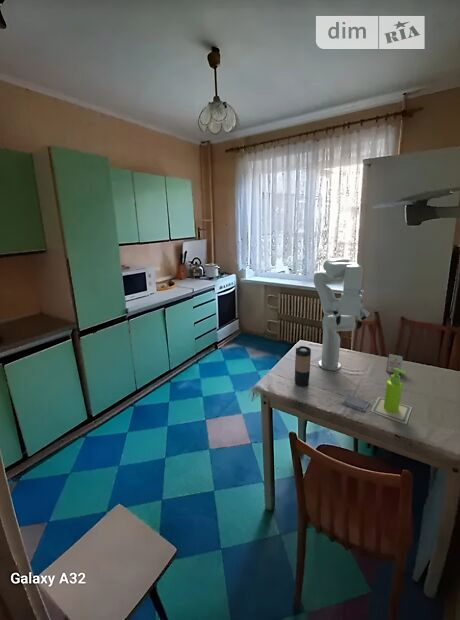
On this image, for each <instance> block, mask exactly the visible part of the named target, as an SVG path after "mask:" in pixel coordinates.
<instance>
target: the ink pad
mask: <svg viewBox="0 0 460 620" xmlns="http://www.w3.org/2000/svg"><path fill="white" fill-rule="evenodd" d="M370 404H371V403H370V401H368V400H365V399H364V398H363V399H362V398H360V397H356V396H354V395H352V394H347V395H346V396H345V398H344V399H343V400H342V402H341V405H344V406H347V407H350V408H352V409H355V410H357V411H361V412H363V413H365V412H366V410H367V409H368V407H369V405H370Z"/></svg>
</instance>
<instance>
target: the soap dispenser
mask: <svg viewBox="0 0 460 620" xmlns="http://www.w3.org/2000/svg"><path fill="white" fill-rule="evenodd" d="M393 370H395V371H394V373H391V378H390V379H388V380H387V383H386V389H385V396H384V398H385V401H384V409H385V410H387V411H389V412H393V413H395V412H398V410H399V404H401V396H402V391H403V385H404V384H403V382H401V376H400V375H401V374H402V375H403V376H405V375H407V374H408V373H407V372H406V371H405V370H403V369H402V368H401V369H398V368H393ZM399 372H400V375H399Z"/></svg>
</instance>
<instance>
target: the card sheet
mask: <svg viewBox="0 0 460 620" xmlns="http://www.w3.org/2000/svg"><path fill="white" fill-rule="evenodd" d="M384 401H385V397H382V396H378V397H377V399H376V401H375V402H374V404H373V406H372V408H371V409H370V412H371V413H373V414H376V415H379V416H382V417H384V418H387V419H390V420H393V421H395V422H399V423H401V424H404V425H407V423H408V420H409V418H410V416H411V412H412V410H413V407H412V406H409V405H406V404H404V403H403V404H402V403H400V404H399V410H398V412H395V413H393V412H389V411H387V410H385V409H384Z"/></svg>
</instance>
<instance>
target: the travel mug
mask: <svg viewBox="0 0 460 620" xmlns="http://www.w3.org/2000/svg"><path fill="white" fill-rule="evenodd" d="M311 357H312V349H311V348H310V347H308V346H305V345H304V346H302V345H300V346H298V347H296V348H295V359H294V384H295V386H297V387H300V388H306V387H308V386H309V384H310V373H311Z"/></svg>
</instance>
